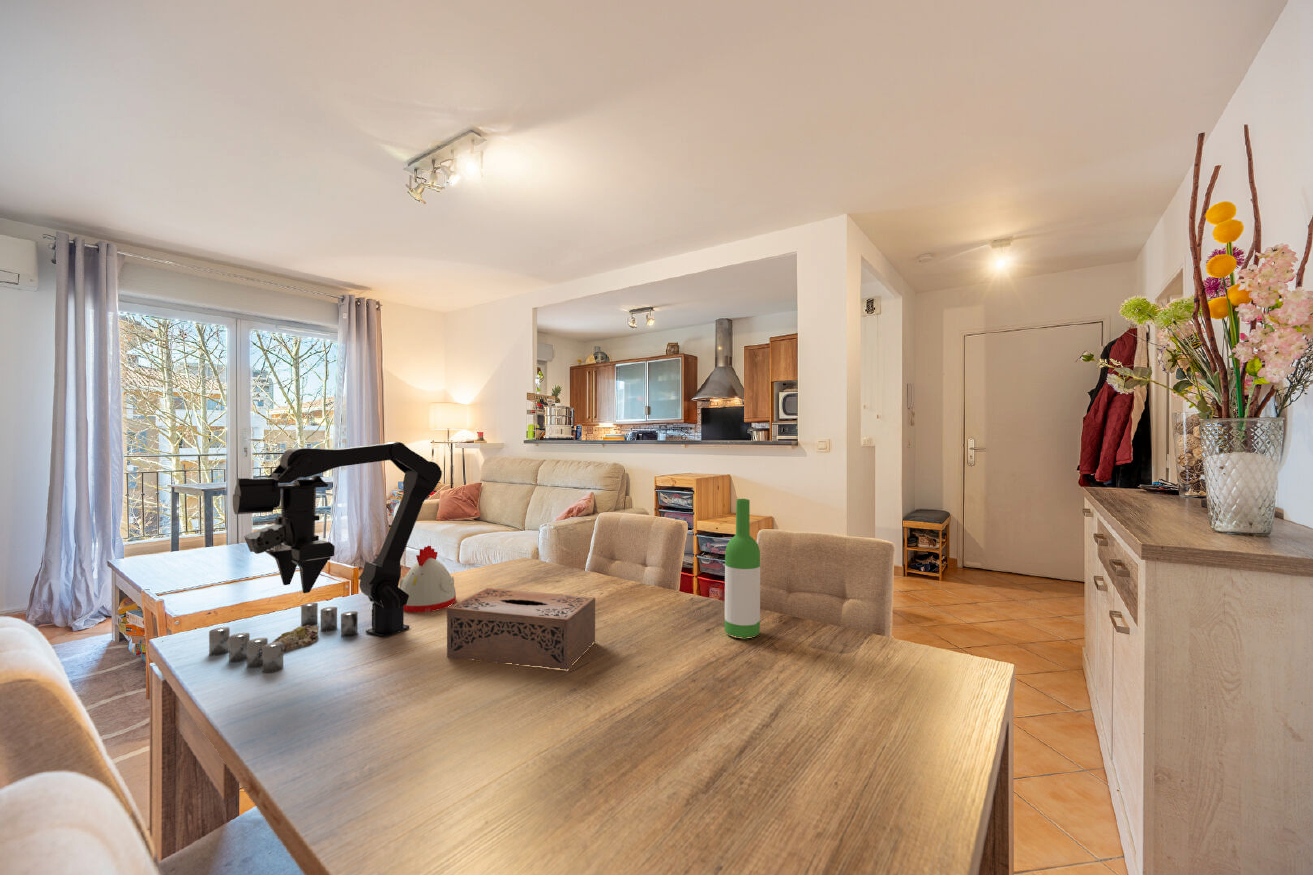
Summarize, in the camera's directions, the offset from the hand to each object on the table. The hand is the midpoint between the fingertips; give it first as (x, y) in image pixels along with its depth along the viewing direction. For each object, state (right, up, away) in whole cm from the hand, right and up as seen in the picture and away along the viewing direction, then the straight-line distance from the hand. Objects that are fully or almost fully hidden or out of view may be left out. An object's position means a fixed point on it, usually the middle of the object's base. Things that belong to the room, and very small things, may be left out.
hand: (296, 588), depth 108 cm
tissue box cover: (+45, -14, +3) cm, 47 cm away
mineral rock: (-4, -14, +5) cm, 15 cm away
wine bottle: (+91, -14, +12) cm, 93 cm away
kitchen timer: (+12, -13, +33) cm, 38 cm away
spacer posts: (-4, -13, +5) cm, 15 cm away
